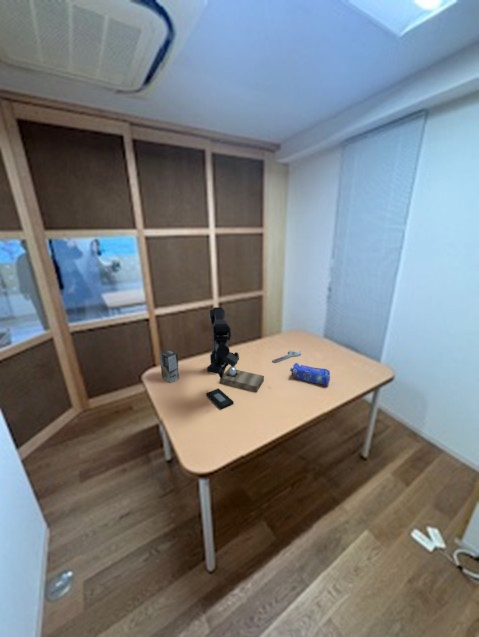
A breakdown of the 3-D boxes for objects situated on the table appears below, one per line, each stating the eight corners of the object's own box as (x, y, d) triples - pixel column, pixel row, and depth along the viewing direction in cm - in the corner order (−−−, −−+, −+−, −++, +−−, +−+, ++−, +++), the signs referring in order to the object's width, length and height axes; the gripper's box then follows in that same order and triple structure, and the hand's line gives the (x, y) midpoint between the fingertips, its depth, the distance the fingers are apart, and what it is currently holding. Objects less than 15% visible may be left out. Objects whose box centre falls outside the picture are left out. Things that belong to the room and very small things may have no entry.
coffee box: (179, 378, 150) (177, 353, 145) (170, 383, 145) (167, 357, 140) (170, 373, 156) (168, 348, 151) (161, 377, 151) (159, 352, 146)
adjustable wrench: (266, 359, 176) (267, 356, 175) (295, 350, 189) (295, 348, 188) (274, 364, 169) (274, 361, 169) (303, 355, 182) (304, 352, 181)
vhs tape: (218, 391, 139) (218, 388, 139) (233, 405, 128) (233, 401, 128) (206, 396, 135) (206, 393, 134) (221, 410, 124) (220, 407, 123)
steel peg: (228, 380, 148) (228, 368, 146) (231, 377, 152) (230, 365, 149) (234, 382, 147) (234, 369, 145) (236, 379, 150) (236, 366, 148)
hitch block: (220, 383, 146) (220, 377, 145) (229, 373, 157) (229, 368, 155) (256, 392, 138) (257, 386, 137) (263, 381, 149) (264, 375, 147)
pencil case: (288, 379, 151) (290, 365, 148) (292, 372, 158) (293, 358, 155) (328, 389, 142) (330, 373, 139) (330, 381, 149) (332, 366, 146)
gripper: (228, 359, 112) (228, 390, 117) (243, 344, 129) (243, 372, 133) (205, 355, 116) (206, 385, 121) (223, 340, 133) (224, 368, 137)
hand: (221, 377), depth 128 cm, fingers closed
